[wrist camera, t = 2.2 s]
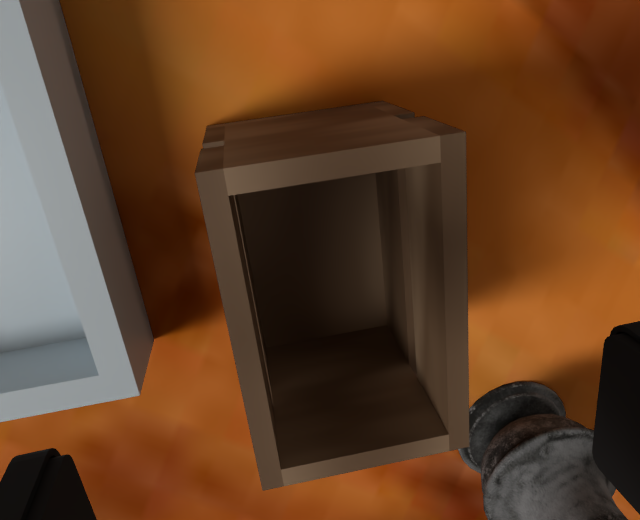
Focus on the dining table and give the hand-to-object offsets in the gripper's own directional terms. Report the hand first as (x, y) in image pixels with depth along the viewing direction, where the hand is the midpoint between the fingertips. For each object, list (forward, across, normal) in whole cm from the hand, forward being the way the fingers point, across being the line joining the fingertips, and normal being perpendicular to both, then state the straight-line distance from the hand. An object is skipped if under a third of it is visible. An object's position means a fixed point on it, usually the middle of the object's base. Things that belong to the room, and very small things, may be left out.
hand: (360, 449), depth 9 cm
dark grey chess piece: (+11, -9, +11) cm, 18 cm away
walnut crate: (+11, -1, 0) cm, 11 cm away
